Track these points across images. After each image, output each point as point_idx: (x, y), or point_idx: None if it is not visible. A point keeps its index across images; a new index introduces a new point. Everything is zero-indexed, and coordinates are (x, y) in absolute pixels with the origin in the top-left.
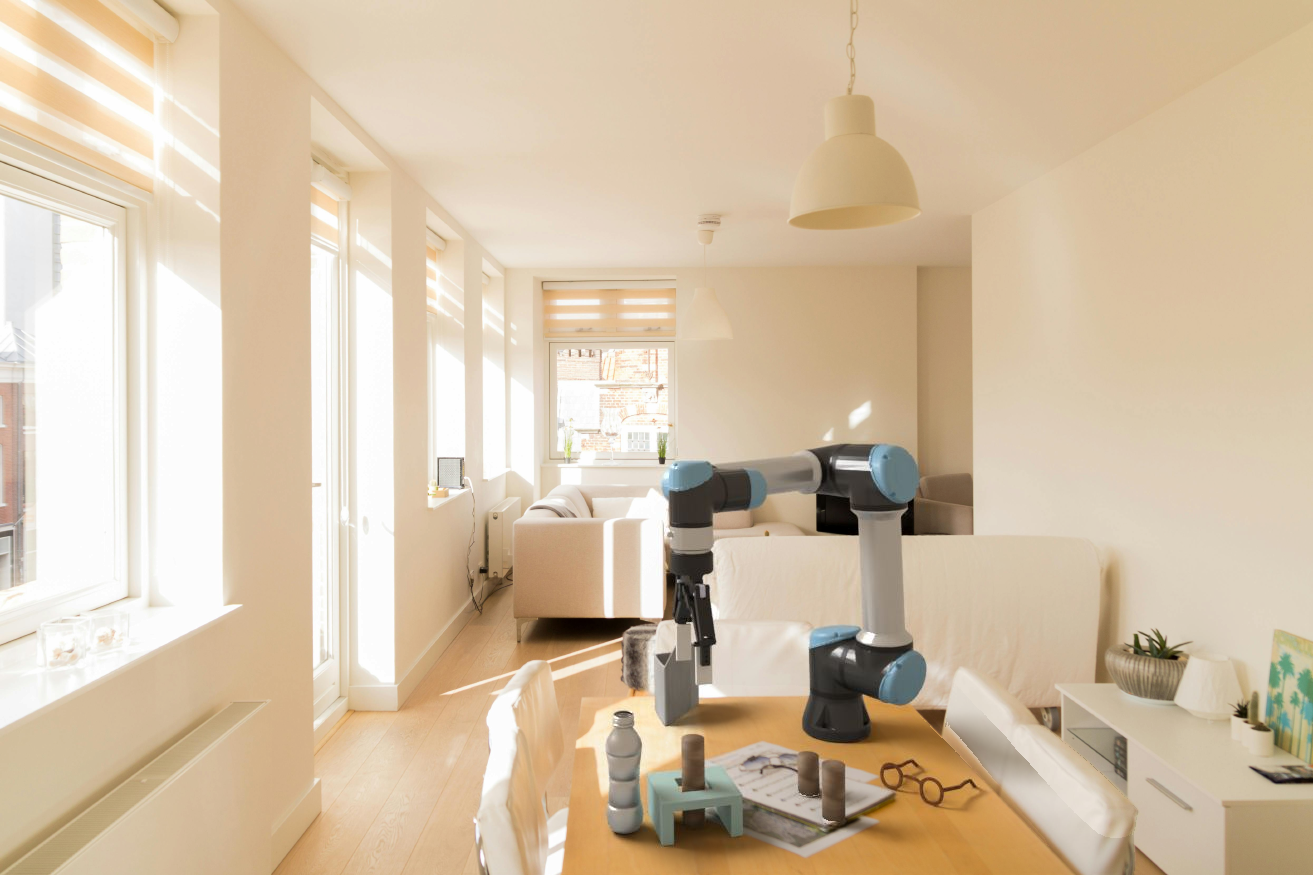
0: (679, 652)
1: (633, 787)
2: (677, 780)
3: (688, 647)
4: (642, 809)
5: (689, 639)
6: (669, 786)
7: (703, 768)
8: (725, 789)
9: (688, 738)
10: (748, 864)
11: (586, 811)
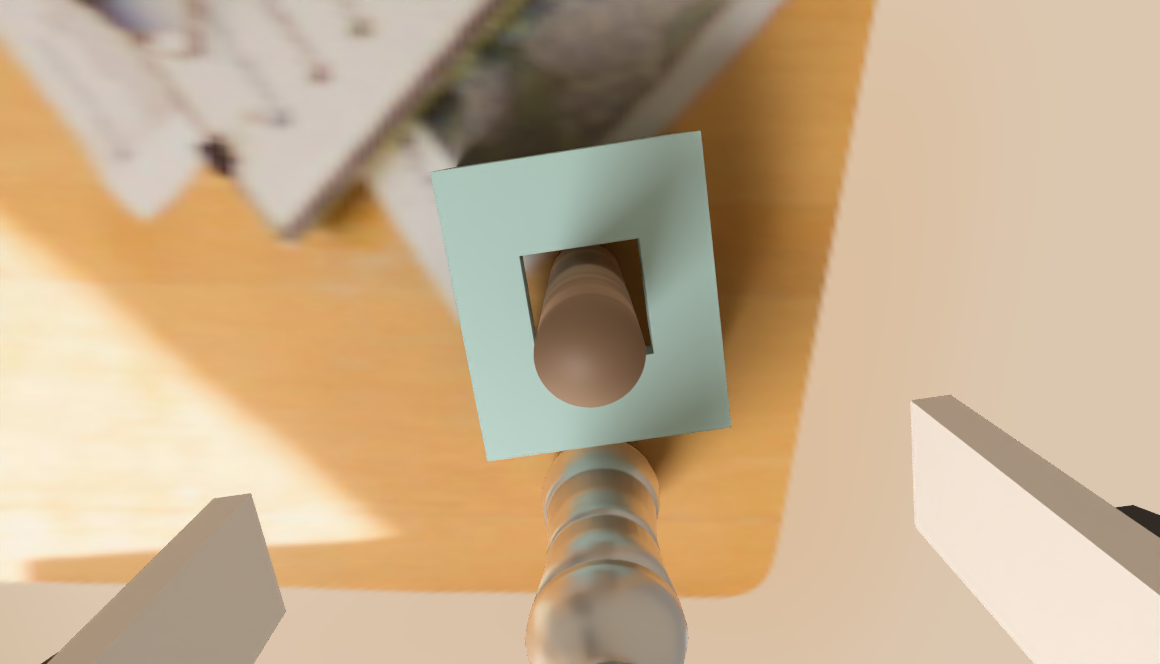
0: (245, 640)
1: (649, 523)
2: None
3: (199, 586)
4: (615, 454)
5: (145, 633)
6: None
7: (614, 282)
8: (648, 190)
9: (589, 374)
10: (844, 145)
11: (489, 575)
